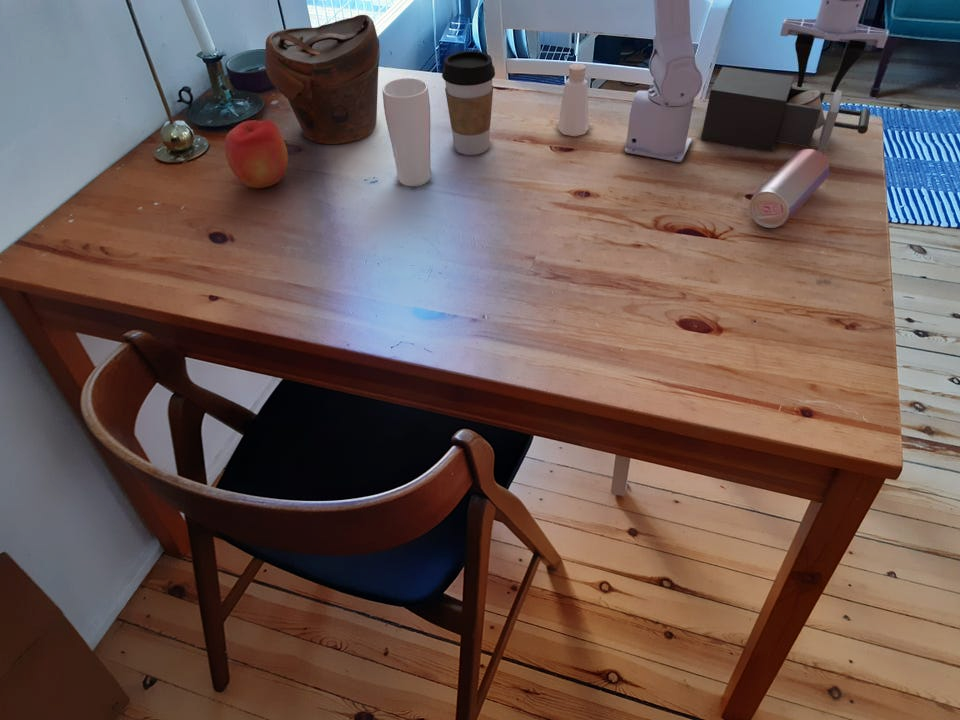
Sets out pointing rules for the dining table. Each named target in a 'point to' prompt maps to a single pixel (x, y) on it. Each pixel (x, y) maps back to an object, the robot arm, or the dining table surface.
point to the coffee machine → (746, 108)
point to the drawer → (815, 120)
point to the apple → (256, 153)
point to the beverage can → (789, 188)
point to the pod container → (810, 103)
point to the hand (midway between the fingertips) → (816, 87)
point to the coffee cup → (469, 99)
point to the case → (328, 77)
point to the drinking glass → (409, 128)
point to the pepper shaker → (574, 103)
